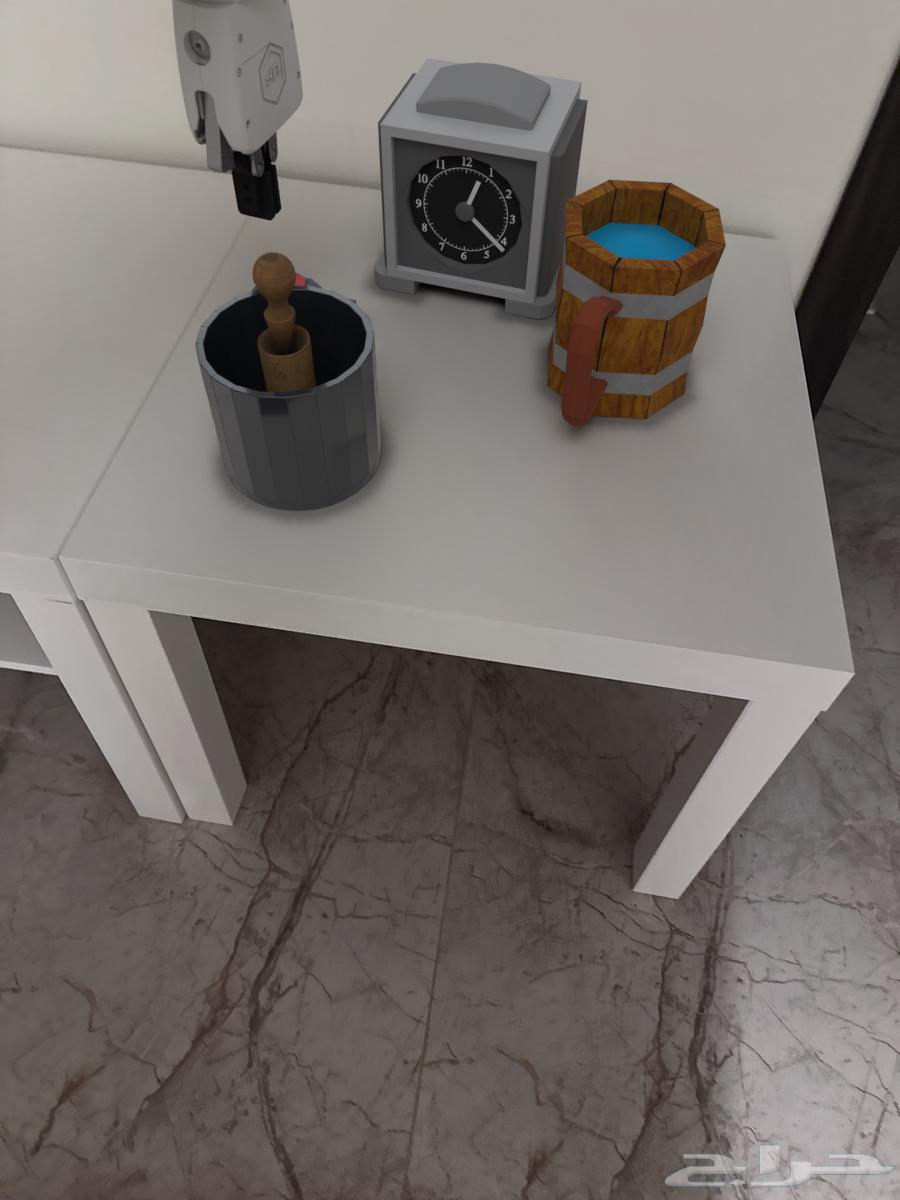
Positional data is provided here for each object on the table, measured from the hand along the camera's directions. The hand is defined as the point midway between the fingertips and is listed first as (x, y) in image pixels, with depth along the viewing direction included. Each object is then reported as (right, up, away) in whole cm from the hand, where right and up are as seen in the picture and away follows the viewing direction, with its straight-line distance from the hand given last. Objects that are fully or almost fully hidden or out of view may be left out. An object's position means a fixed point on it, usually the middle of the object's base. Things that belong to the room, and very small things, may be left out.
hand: (260, 212), depth 77 cm
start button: (+1, -4, +9) cm, 10 cm away
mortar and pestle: (+3, -19, +2) cm, 20 cm away
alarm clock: (+19, +2, +19) cm, 27 cm away
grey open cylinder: (+3, -20, +2) cm, 20 cm away
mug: (+30, -13, +8) cm, 33 cm away
